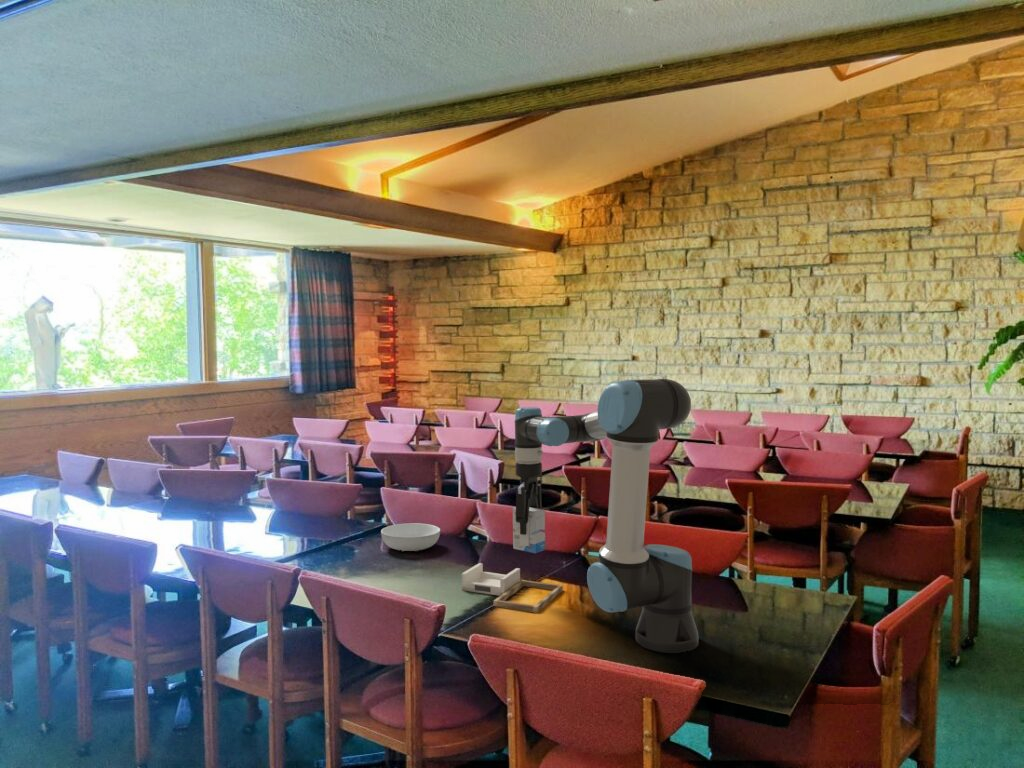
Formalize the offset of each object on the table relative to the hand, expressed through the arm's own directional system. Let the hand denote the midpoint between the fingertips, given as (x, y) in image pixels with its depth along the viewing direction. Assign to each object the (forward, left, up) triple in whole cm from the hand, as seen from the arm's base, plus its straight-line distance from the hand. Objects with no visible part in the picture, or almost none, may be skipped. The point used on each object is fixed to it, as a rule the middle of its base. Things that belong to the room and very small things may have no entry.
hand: (529, 542), depth 213 cm
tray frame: (0, 0, -16) cm, 16 cm away
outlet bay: (+4, +14, -16) cm, 22 cm away
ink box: (0, 0, -2) cm, 2 cm away
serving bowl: (+31, +59, -16) cm, 69 cm away
